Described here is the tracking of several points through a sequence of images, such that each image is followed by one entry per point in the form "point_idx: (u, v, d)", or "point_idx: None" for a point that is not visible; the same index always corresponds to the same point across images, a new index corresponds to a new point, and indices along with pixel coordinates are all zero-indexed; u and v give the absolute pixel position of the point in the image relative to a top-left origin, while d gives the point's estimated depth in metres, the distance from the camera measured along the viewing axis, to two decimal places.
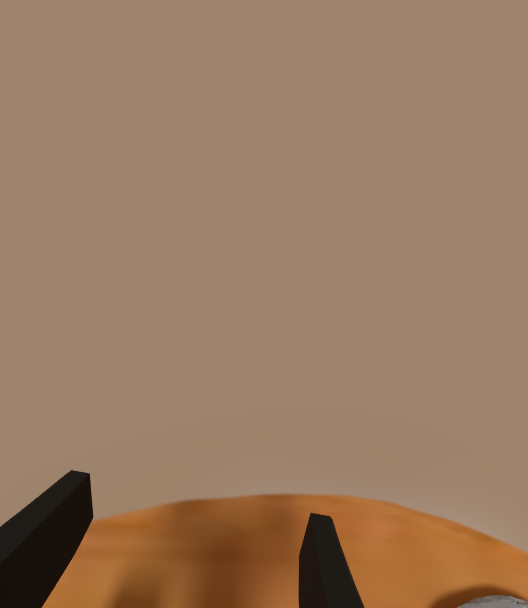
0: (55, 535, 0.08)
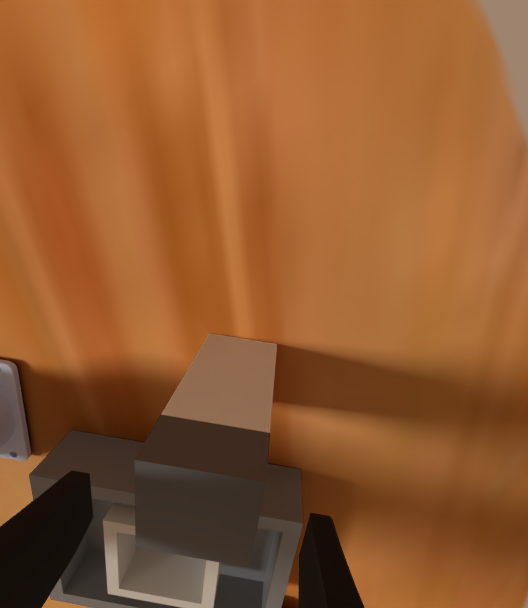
0: (55, 535, 0.08)
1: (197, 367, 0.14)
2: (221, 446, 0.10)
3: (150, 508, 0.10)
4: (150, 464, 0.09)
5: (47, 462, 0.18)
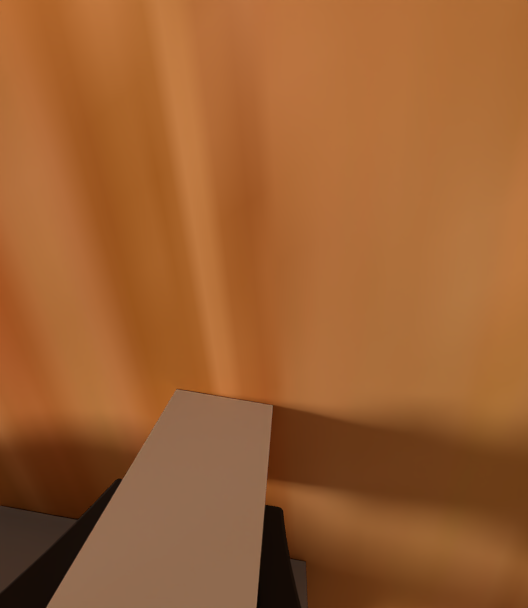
0: None
1: (144, 465, 0.09)
2: None
3: None
4: None
5: None
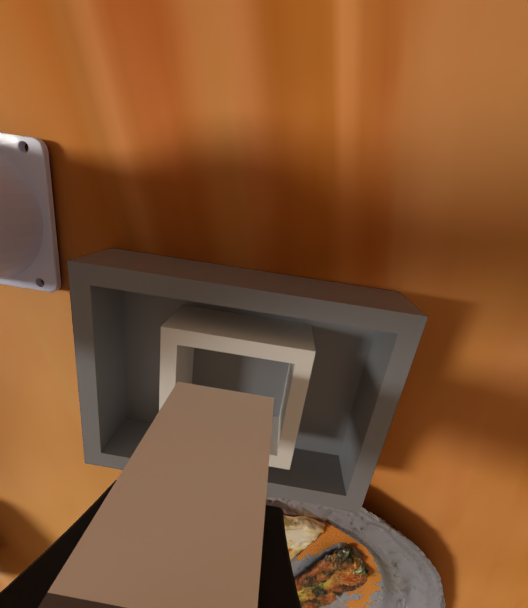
0: None
1: (146, 454, 0.09)
2: None
3: None
4: None
5: (88, 257, 0.14)
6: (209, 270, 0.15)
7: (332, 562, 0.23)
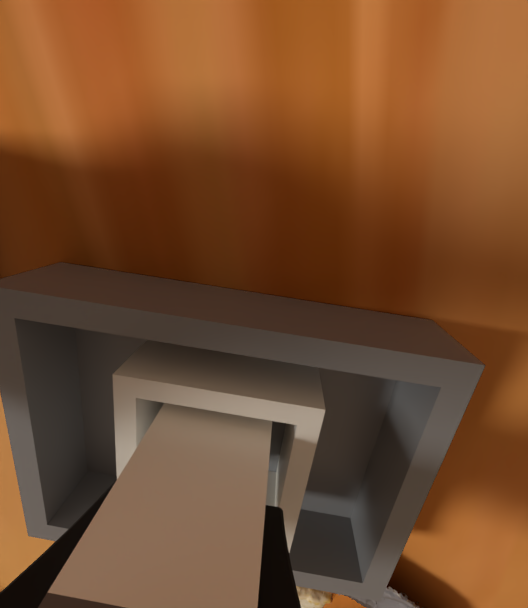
0: None
1: (146, 455, 0.09)
2: None
3: None
4: None
5: (15, 278, 0.10)
6: (182, 294, 0.11)
7: None
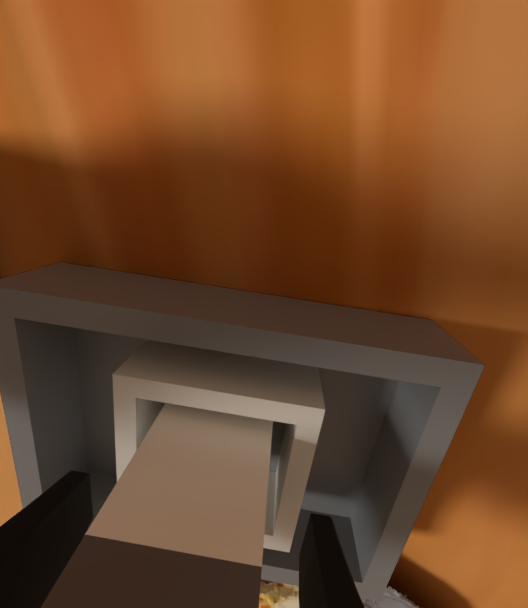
0: (55, 535, 0.08)
1: (161, 429, 0.10)
2: None
3: None
4: None
5: (15, 278, 0.10)
6: (182, 294, 0.11)
7: None
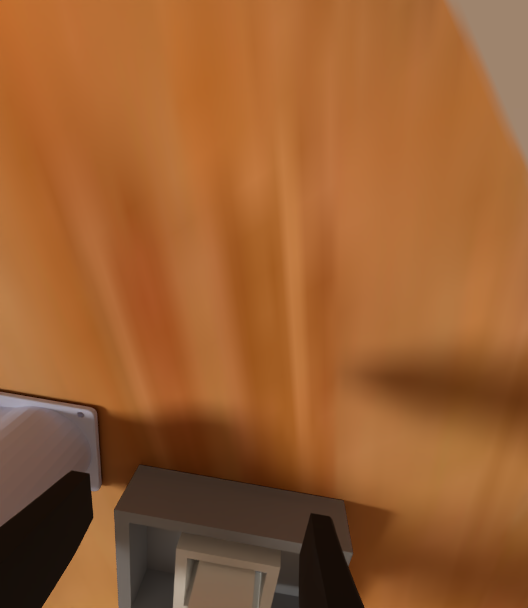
0: (55, 535, 0.08)
1: (200, 577, 0.20)
2: None
3: None
4: None
5: (126, 497, 0.21)
6: (209, 496, 0.22)
7: None
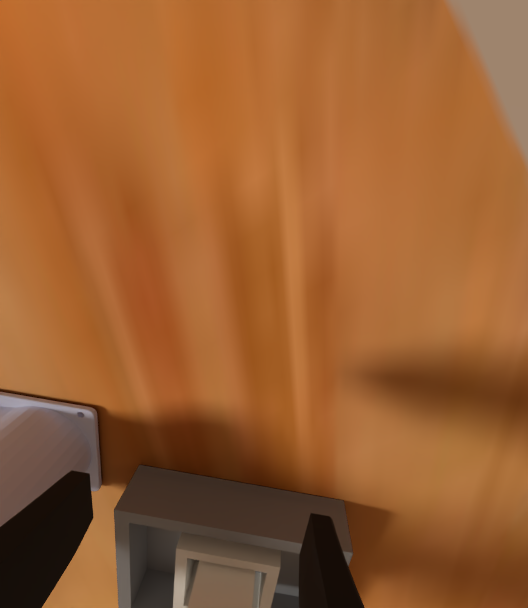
0: (55, 535, 0.08)
1: (200, 577, 0.20)
2: None
3: None
4: None
5: (126, 497, 0.21)
6: (209, 496, 0.22)
7: None
